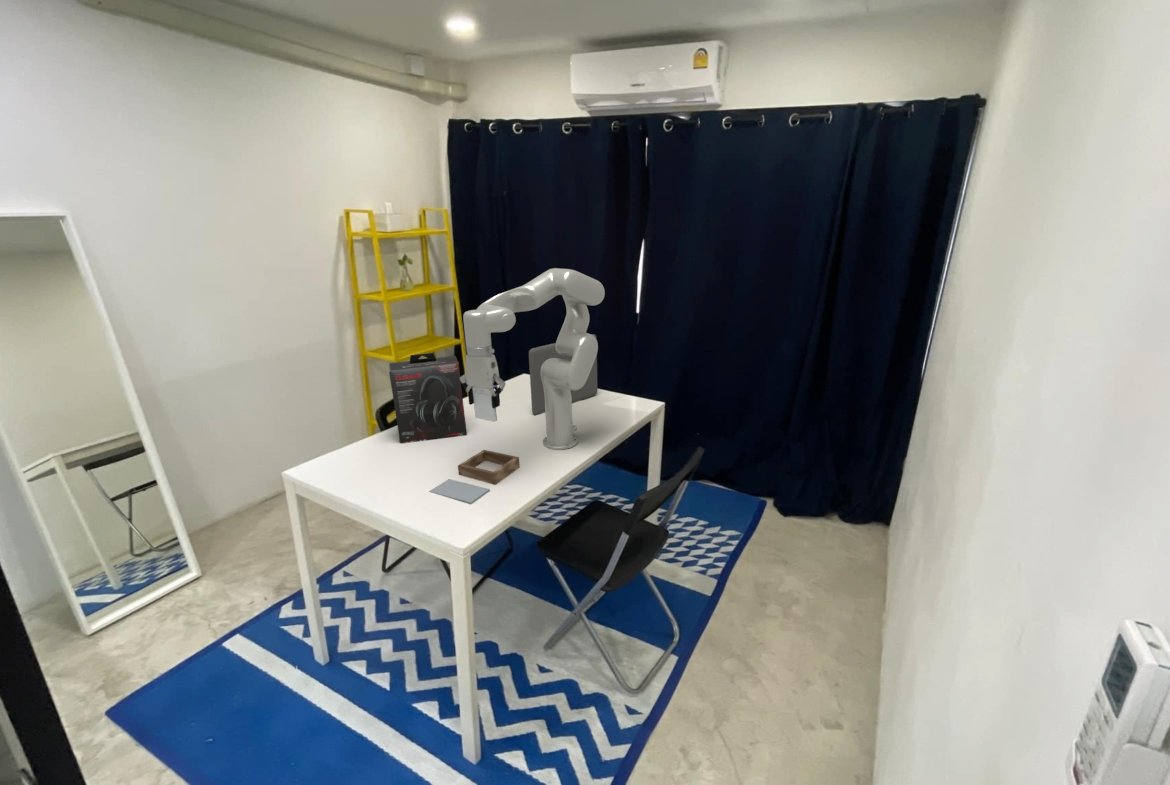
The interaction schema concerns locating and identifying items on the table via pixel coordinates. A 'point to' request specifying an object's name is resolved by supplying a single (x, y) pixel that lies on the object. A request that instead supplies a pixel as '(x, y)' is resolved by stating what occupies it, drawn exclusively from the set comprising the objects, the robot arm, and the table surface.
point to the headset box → (427, 398)
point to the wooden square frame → (488, 476)
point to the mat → (460, 491)
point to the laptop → (537, 391)
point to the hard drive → (483, 404)
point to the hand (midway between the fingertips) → (484, 404)
